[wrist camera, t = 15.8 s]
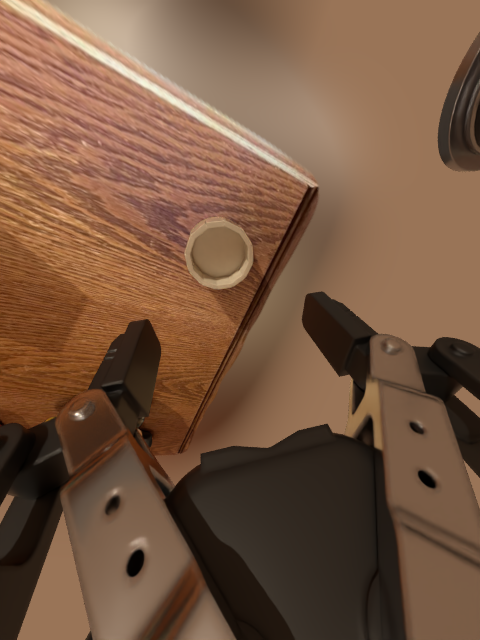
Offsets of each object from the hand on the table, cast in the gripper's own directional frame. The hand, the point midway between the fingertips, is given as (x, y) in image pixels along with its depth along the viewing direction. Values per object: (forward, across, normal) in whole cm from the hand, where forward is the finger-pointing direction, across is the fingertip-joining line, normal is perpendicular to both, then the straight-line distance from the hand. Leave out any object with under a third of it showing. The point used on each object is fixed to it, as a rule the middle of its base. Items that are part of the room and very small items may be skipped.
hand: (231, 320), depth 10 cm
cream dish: (+13, 0, 0) cm, 13 cm away
